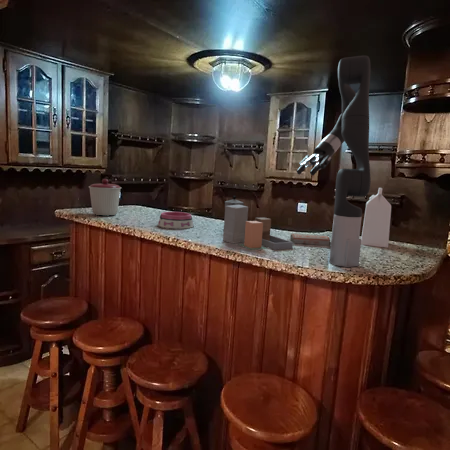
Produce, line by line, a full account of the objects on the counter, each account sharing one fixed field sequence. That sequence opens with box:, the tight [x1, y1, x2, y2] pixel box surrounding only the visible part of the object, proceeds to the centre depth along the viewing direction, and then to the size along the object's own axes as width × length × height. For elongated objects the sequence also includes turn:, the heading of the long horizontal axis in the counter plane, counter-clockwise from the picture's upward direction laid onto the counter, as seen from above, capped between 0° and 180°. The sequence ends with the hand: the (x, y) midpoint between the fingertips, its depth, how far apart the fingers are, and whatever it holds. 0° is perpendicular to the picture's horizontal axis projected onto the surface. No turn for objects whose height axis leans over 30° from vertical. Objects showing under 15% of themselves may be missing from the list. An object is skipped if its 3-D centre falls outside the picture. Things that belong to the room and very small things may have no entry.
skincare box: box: [222, 205, 249, 244], centre depth 158 cm, size 8×7×16 cm
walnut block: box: [254, 217, 272, 241], centre depth 162 cm, size 5×5×10 cm
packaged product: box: [286, 233, 331, 250], centre depth 162 cm, size 18×5×10 cm
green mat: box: [237, 243, 268, 251], centre depth 150 cm, size 10×8×1 cm
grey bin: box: [261, 234, 294, 251], centre depth 157 cm, size 20×9×3 cm, turn 28°
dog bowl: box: [157, 211, 195, 230], centre depth 192 cm, size 18×19×7 cm
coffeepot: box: [222, 195, 245, 233], centre depth 183 cm, size 15×9×18 cm, turn 176°
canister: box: [88, 178, 122, 216], centre depth 215 cm, size 18×18×21 cm
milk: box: [360, 187, 392, 248], centre depth 172 cm, size 12×12×26 cm
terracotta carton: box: [243, 220, 263, 248], centre depth 149 cm, size 5×5×10 cm
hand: (304, 173), depth 155 cm, fingers open, 8 cm apart
